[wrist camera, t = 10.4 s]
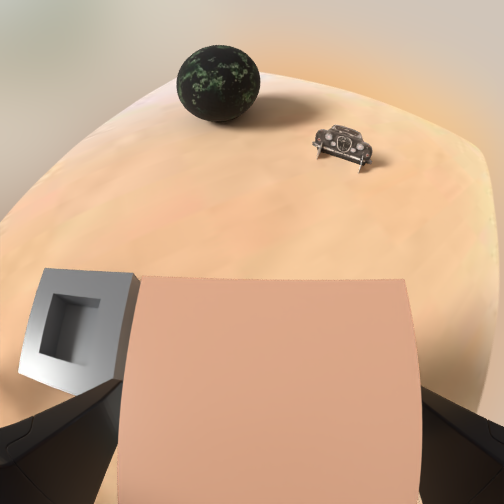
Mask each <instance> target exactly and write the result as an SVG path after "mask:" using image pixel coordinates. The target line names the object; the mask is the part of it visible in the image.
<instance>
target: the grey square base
mask: <svg viewBox="0 0 504 504" xmlns="http://www.w3.org/2000/svg"><path fill="white" fill-rule="evenodd" d="M140 284H141V282H140V281H139V280H138V279H137V277H136V276H135V275H134V273H123V272H102V271H84V270H67V269H51V268H45V269H44V271H43V274H42V277H41V280H40V283H39V286H38V289H37V292H36V296H35V299H34V302H33V306H32V309H31V313H30V317H29V321H28V325H27V329H26V333H25V337H24V342H23V347H22V352H21V357H20V363H19V369H18V373H20V374H23V375H25V376H27V377H29V378H31V379H34V380H36V381H38V382H41V383H43V384H46V385H48V386H51V387H53V388H56V389H59V390H61V391H64V392H67V393H70V394H73V395H76V396H77V395H80V394H82V393H84V392H86V391H88V390H90V389H92V388H94V387H96V386H98V385H100V384H102V383H104V382H106V381H108V380H110V379H112V378H115V379H120V380H124V372H125V365H126V358H127V352H128V345H129V339H130V334H131V328H132V323H133V317H134V312H135V307H136V302H137V298H138V293H139V289H140Z"/></svg>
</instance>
